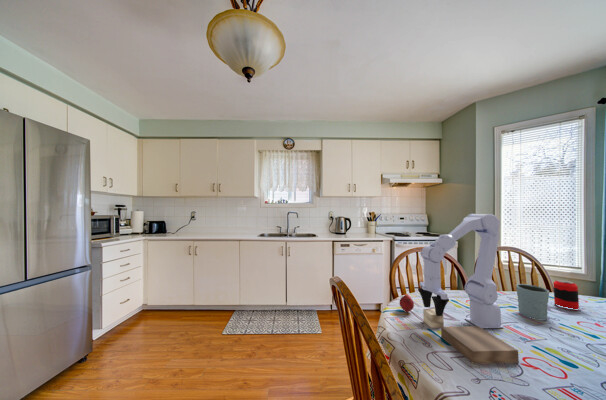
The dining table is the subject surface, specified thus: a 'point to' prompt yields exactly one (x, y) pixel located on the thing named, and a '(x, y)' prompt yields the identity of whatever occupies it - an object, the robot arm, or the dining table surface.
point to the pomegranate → (406, 303)
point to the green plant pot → (532, 301)
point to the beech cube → (433, 318)
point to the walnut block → (479, 345)
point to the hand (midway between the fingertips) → (432, 311)
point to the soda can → (566, 294)
